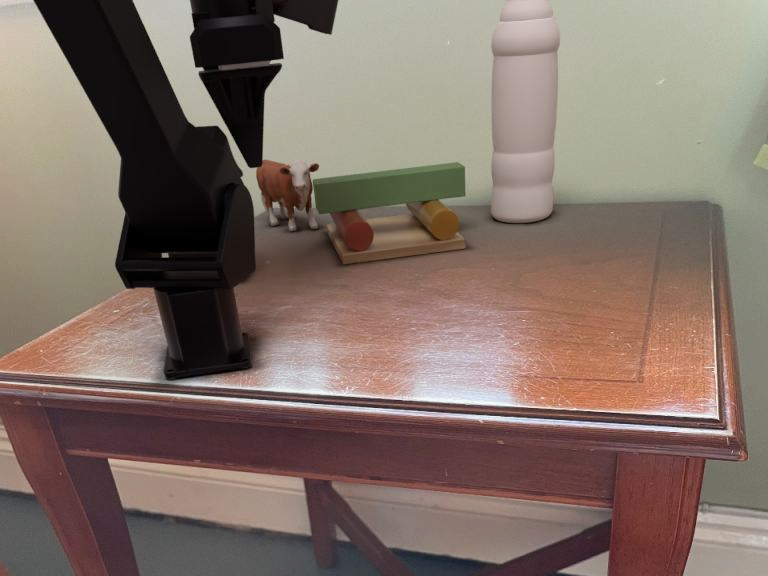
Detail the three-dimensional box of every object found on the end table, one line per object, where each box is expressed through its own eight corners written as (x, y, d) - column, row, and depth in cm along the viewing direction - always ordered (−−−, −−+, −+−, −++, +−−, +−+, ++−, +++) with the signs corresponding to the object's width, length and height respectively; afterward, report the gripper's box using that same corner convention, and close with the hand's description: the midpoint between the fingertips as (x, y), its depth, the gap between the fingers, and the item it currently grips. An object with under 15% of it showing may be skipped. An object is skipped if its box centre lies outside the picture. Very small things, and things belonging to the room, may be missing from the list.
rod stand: (465, 248, 80) (465, 208, 78) (343, 264, 78) (338, 224, 76) (434, 219, 91) (433, 183, 89) (327, 232, 90) (323, 197, 88)
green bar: (465, 196, 82) (465, 166, 81) (319, 214, 81) (315, 184, 79) (458, 191, 85) (457, 161, 83) (315, 208, 83) (312, 179, 81)
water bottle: (509, 207, 93) (512, -45, 79) (562, 211, 90) (576, -53, 76) (480, 221, 89) (478, -44, 75) (535, 226, 85) (544, -52, 71)
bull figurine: (300, 240, 88) (289, 164, 83) (257, 221, 98) (246, 151, 93) (334, 233, 90) (325, 157, 85) (289, 214, 100) (279, 146, 95)
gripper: (342, -98, 49) (364, 165, 58) (312, -71, 64) (333, 133, 73) (166, -84, 48) (216, 182, 56) (179, -60, 63) (216, 147, 72)
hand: (253, 158), depth 64 cm, fingers open, 9 cm apart
